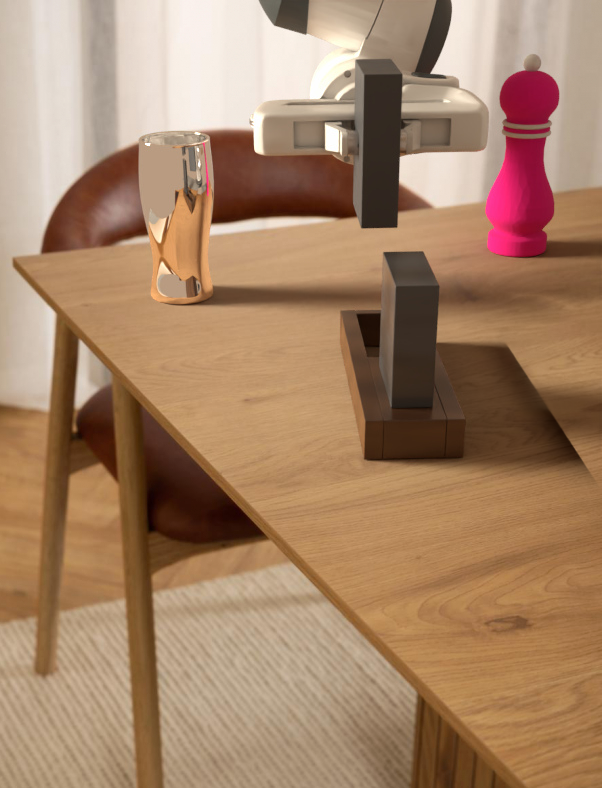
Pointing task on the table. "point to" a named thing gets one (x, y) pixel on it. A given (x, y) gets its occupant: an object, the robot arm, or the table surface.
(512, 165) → the pepper mill
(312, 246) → the table surface
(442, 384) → the backrest rail
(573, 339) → the table surface
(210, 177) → the beer glass
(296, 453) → the table surface
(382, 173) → the back pad
